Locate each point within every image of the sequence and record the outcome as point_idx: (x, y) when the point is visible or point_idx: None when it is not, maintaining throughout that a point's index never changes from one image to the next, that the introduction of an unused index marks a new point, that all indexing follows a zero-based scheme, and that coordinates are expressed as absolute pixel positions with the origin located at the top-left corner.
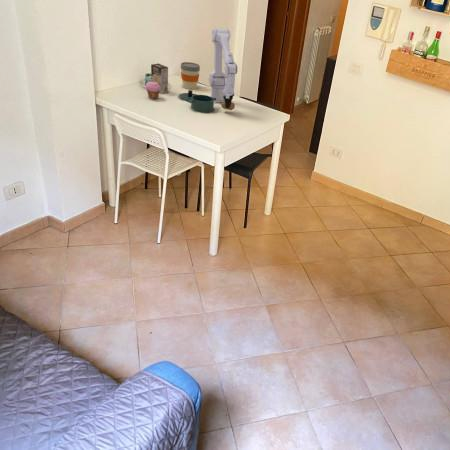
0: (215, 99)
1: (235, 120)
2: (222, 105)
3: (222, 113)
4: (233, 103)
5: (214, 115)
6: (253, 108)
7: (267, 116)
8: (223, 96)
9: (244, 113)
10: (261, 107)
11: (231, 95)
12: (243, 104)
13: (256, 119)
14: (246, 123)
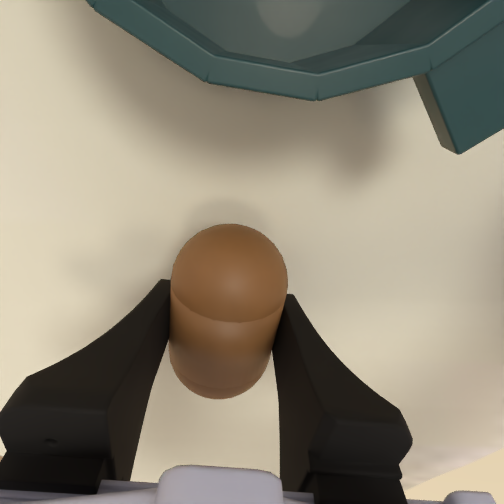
0: (441, 132)
1: (25, 320)
2: (186, 247)
3: (175, 204)
4: (214, 398)
5: (40, 96)
6: None
7: None
8: (29, 409)
9: (256, 383)
10: (423, 467)
11: (289, 485)
12: (499, 384)
13: (149, 438)
14: (11, 387)
